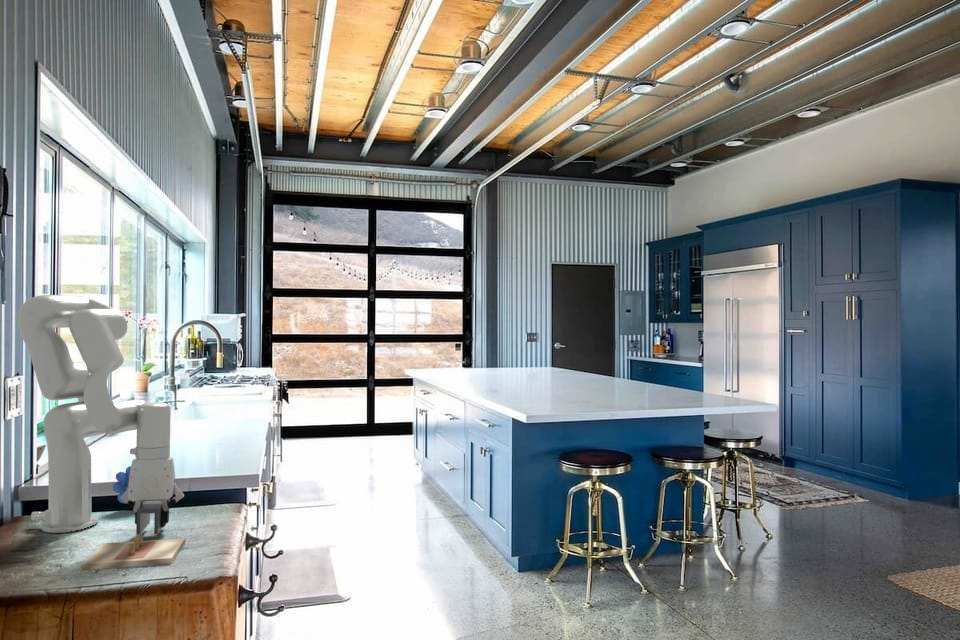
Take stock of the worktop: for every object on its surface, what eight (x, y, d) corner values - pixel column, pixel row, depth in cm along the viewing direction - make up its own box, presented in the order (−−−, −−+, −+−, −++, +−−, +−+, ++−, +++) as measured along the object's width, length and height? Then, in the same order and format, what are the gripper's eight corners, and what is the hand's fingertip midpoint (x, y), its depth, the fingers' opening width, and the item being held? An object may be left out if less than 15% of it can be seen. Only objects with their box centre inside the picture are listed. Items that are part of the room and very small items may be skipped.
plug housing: (136, 534, 165) (136, 509, 165) (146, 523, 174) (146, 499, 174) (157, 533, 166) (158, 508, 166) (166, 522, 175) (167, 499, 175)
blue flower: (112, 514, 187) (112, 470, 187) (112, 508, 193) (112, 466, 193) (159, 508, 193) (159, 466, 193) (157, 503, 199) (157, 462, 199)
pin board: (80, 570, 145) (80, 552, 145) (102, 548, 159) (102, 532, 159) (171, 563, 149) (171, 546, 149) (185, 543, 163) (185, 527, 163)
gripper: (111, 456, 164) (109, 532, 164) (186, 455, 168) (185, 529, 168) (120, 450, 172) (119, 523, 172) (192, 449, 175) (191, 520, 175)
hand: (151, 525), depth 170 cm, fingers closed on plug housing, 4 cm apart
